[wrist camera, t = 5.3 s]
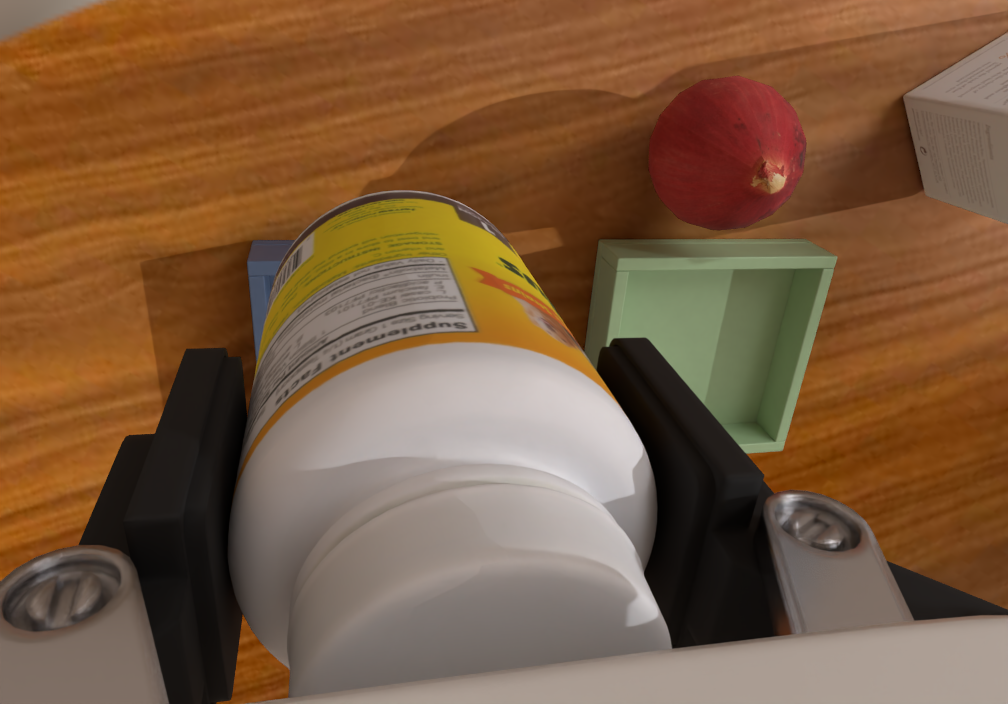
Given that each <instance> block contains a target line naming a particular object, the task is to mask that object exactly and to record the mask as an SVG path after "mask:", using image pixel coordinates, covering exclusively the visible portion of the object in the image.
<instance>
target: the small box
mask: <svg viewBox="0 0 1008 704" xmlns="http://www.w3.org/2000/svg"><path fill="white" fill-rule="evenodd" d="M903 99H904V103H905V108H906V112H907V116H908V121H909V125H910V130H911V134H912V139H913V143H914V147H915V151H916V156H917V160H918V164H919V169H920V173H921V177H922V182H923V186H924V191H925V195H926V196H928V197H931V198H934V199H937V200H940V201H943V202H945V203H948V204H951V205H954V206H957V207H960V208H963V209H965V210H969V211H972V212H974V213H977V214H980V215H982V216H986V217H989V218H992V219H995V220H998V221H1000V222H1003V223H1006V224H1008V32H1007V33H1006V34H1004V35H1002V36H1001V37H999V38H997V39H996V40H994V41H992V42H991V43H989V44H988V45H986V46H984V47H983V48H981V49H979V50H978V51H976V52H974V53H973V54H971V55H969V56H968V57H966V58H964V59H963V60H961V61H959V62H958V63H956V64H954V65H953V66H951V67H950V68H948V69H946V70H945V71H943V72H941V73H940V74H938V75H937V76H935V77H933V78H932V79H930V80H928V81H927V82H925V83H923V84H922V85H920V86H918V87H917V88H915V89H913V90H912V91H910V92H908V93H907V94H905V95H904V96H903Z"/></svg>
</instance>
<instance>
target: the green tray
mask: <svg viewBox="0 0 1008 704" xmlns="http://www.w3.org/2000/svg"><path fill="white" fill-rule="evenodd" d="M836 260H837V256H835V255H834V254H832V253H830V252H828V251H826V250H825V249H823V248H821V247H819V246H817V245H816V244H814V243H812V242H810V241H808V240H806V239H601V240H599V242H598V250H597V258H596V265H595V273H594V281H593V288H592V296H591V304H590V311H589V319H588V327H587V334H586V342H585V350H584V353H585V354H586V356H587V357H588V359H589V360H590V362H591V363H592V365H593V366H594V368H595V369H596V370H597V363H598V357H599V352H600V350H601V348H602V347H609V345H610V342H611V341H612V340H613V339H614V338H642V337H646V338H647V339H649V340H650V342H651V343H652V344H653V345H654V346H655V347H656V349H657V350H658V351H659V352H660V353H661V354H662V356H663V357H664V358H665V359H666V360H667V362H668V363H669V364H670V365H671V366H672V367H673V369H674V370H675V371H676V372H677V373H678V374H679V376H680V377H681V378H682V379H683V380H684V381H685V383H686V384H687V385H688V386H689V387H690V389H691V390H692V391H693V392H694V393H695V394H696V396H697V397H698V398H699V399H700V400H701V401H702V403H703V404H704V405H705V406H706V407H707V409H708V410H709V411H710V412H711V413H712V414H713V416H714V417H715V418H716V419H717V420H718V421H719V423H720V424H721V425H722V426H723V427H724V429H725V430H726V431H727V432H728V433H729V434H730V436H731V437H732V438H733V439H734V440H735V441H736V443H737V444H738V445H739V446H740V447H741V449H742V450H743V451H744V452H745V453H760V452H773V451H782V450H783V447H784V443H785V440H786V437H787V433H788V430H789V426H790V423H791V419H792V416H793V412H794V408H795V405H796V401H797V398H798V394H799V391H800V387H801V384H802V380H803V377H804V373H805V370H806V366H807V363H808V359H809V356H810V352H811V349H812V345H813V342H814V338H815V335H816V331H817V328H818V324H819V321H820V317H821V314H822V310H823V306H824V303H825V299H826V296H827V292H828V289H829V285H830V282H831V278H832V275H833V271H834V269H833V268H834V267H835V264H836Z"/></svg>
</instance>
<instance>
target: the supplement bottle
mask: <svg viewBox="0 0 1008 704" xmlns="http://www.w3.org/2000/svg"><path fill="white" fill-rule="evenodd" d="M657 508H658V507H657V492H656V484H655V478H654V474H653V470H652V467H651V464H650V461H649V458H648V455H647V453H646V450H645V447H644V445H643V444H642V442H641V440H640V438H639V436H638V434H637V432H636V431H635V429H634V427H633V426H632V424H631V422H630V420H629V419H628V417H627V416H626V414H625V413H624V411H623V410H622V408H621V407H620V405H619V404H618V402H617V401H616V399H615V398H614V396H613V395H612V393H611V392H610V390H609V389H608V387H607V386H606V384H605V383H604V381H603V380H602V378H601V377H600V375H599V374H598V373H597V371H596V369H595V368H594V366H593V365H592V363H591V362H590V360H589V359H588V357H587V356H586V354H585V353H584V351H583V350H582V348H581V347H580V346H579V344H578V343H577V341H576V340H575V338H574V336H573V335H572V333H571V332H570V331H569V329H568V328H567V326H566V325H565V323H564V322H563V320H562V319H561V317H560V316H559V314H558V313H557V311H556V309H555V307H554V306H553V304H552V303H551V302H550V301H549V299H548V298H547V297H546V295H545V294H544V292H543V291H542V290H541V288H540V287H539V285H538V284H537V282H536V281H535V279H534V278H533V276H532V275H531V273H530V272H529V270H528V269H527V268H526V266H525V264H524V263H523V261H522V260H521V258H520V257H519V255H518V254H517V252H516V251H515V250H514V248H513V247H512V246H511V244H510V243H509V241H508V240H507V239H506V238H505V237H504V236H503V235H502V234H501V232H500V231H499V230H498V229H497V228H496V227H495V226H494V225H493V224H491V223H490V222H489V221H488V220H487V219H486V218H484V217H483V216H482V215H480V214H479V213H477V212H476V211H474V210H472V209H471V208H469V207H467V206H465V205H464V204H462V203H460V202H458V201H455V200H452V199H450V198H447V197H444V196H441V195H437V194H433V193H428V192H421V191H411V190H395V191H383V192H378V193H372V194H368V195H365V196H361V197H358V198H355V199H352V200H350V201H347V202H345V203H343V204H341V205H339V206H337V207H335V208H333V209H332V210H330V211H328V212H327V213H325V214H324V215H322V216H321V217H319V218H318V219H317V220H316V221H314V222H313V223H312V224H311V225H310V226H309V227H307V228H306V229H305V230H304V231H303V232H302V233H301V235H300V236H299V237H298V238H297V239H296V240H295V242H294V243H293V244H292V246H291V247H290V249H289V250H288V252H287V253H286V255H285V257H284V258H283V260H282V262H281V264H280V266H279V268H278V271H277V273H276V275H275V278H274V281H273V285H272V290H271V293H270V297H269V302H268V307H267V313H266V318H265V322H264V326H263V333H262V339H261V343H260V349H259V355H258V361H257V365H256V371H255V377H254V383H253V388H252V393H251V398H250V404H249V410H248V416H247V422H246V427H245V433H244V438H243V444H242V450H241V456H240V461H239V466H238V470H237V478H236V483H235V488H234V494H233V498H232V505H231V512H230V520H229V531H228V555H227V558H228V566H229V573H230V577H231V582H232V586H233V590H234V594H235V597H236V599H237V602H238V604H239V606H240V609H241V611H242V613H243V615H244V617H245V619H246V621H247V622H248V624H249V626H250V628H251V630H252V631H253V632H254V634H255V635H256V636H257V638H258V639H259V640H260V642H261V643H262V644H263V645H264V646H265V647H266V648H267V650H268V651H269V652H270V653H271V654H272V655H274V656H275V657H276V658H277V659H278V660H279V661H280V662H281V663H283V664H284V665H285V666H286V667H288V668H289V669H290V683H289V698H292V697H300V696H308V695H315V694H323V693H330V692H338V691H346V690H353V689H361V688H368V687H376V686H384V685H391V684H399V683H406V682H414V681H421V680H429V679H437V678H444V677H452V676H460V675H468V674H476V673H484V672H492V671H500V670H507V669H515V668H523V667H531V666H539V665H547V664H555V663H563V662H571V661H579V660H587V659H595V658H603V657H611V656H619V655H627V654H635V653H643V652H651V651H659V650H667V649H672V645H671V639H670V635H669V631H668V627H667V625H666V622H665V620H664V618H663V616H662V614H661V612H660V609H659V607H658V605H657V603H656V601H655V598H654V596H653V594H652V592H651V590H650V588H649V586H648V583H647V581H646V579H645V577H644V571H645V568H646V566H647V563H648V561H649V558H650V555H651V552H652V547H653V543H654V539H655V533H656V526H657Z"/></svg>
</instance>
